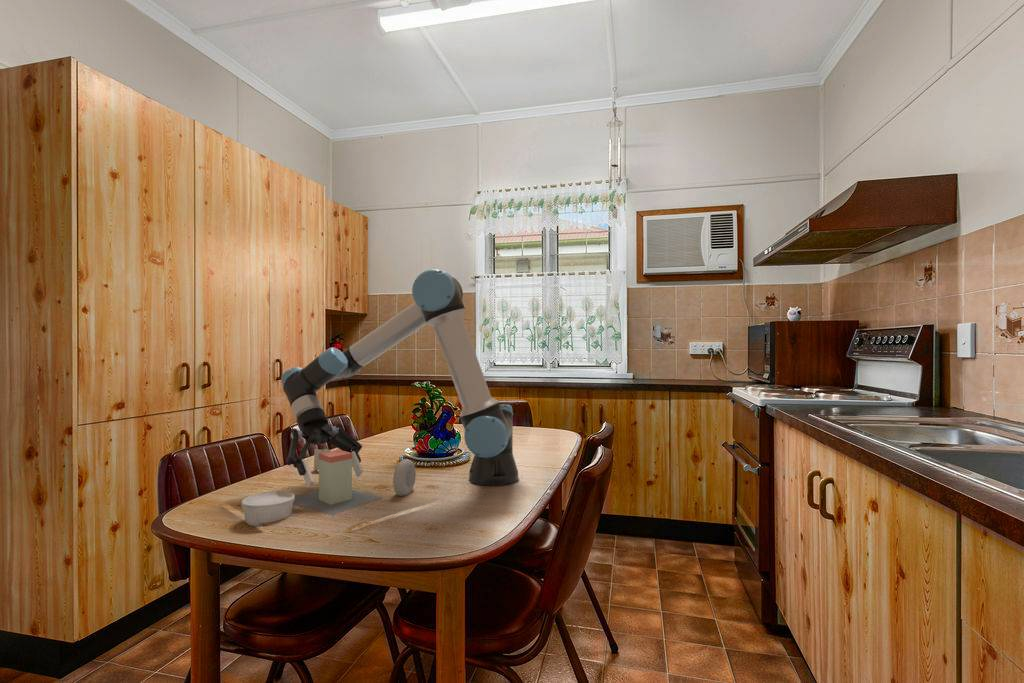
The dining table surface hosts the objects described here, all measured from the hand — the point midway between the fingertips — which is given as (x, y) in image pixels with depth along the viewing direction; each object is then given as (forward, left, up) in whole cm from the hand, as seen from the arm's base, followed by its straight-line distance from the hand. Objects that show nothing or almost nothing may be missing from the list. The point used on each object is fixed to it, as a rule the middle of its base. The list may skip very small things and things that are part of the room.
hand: (336, 479), depth 128 cm
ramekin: (+4, +16, -7) cm, 18 cm away
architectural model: (+32, -20, -7) cm, 38 cm away
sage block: (+1, 0, -6) cm, 6 cm away
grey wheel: (-10, -14, -7) cm, 19 cm away
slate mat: (+2, 0, -7) cm, 7 cm away
